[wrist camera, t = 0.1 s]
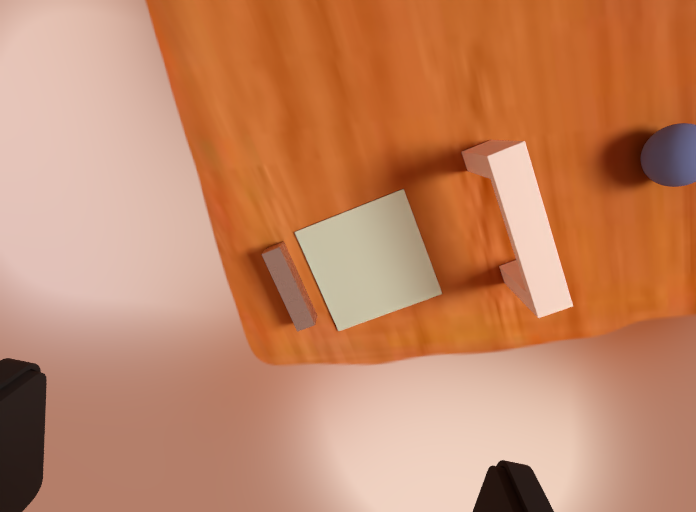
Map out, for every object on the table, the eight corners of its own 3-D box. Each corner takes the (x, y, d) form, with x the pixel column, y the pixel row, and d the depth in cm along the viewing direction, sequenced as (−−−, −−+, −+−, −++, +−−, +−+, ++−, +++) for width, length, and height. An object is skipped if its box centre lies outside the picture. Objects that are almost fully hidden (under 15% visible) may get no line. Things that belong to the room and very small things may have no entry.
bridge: (504, 282, 47) (538, 318, 38) (461, 151, 43) (487, 156, 34) (532, 273, 46) (573, 306, 37) (490, 139, 43) (524, 141, 34)
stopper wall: (266, 248, 47) (261, 254, 44) (283, 241, 46) (279, 247, 44) (300, 321, 49) (297, 331, 46) (317, 315, 48) (314, 324, 46)
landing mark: (294, 231, 46) (294, 232, 46) (403, 188, 44) (403, 189, 44) (338, 330, 49) (338, 331, 49) (442, 293, 47) (442, 293, 47)
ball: (622, 137, 43) (659, 138, 37) (681, 114, 42) (728, 111, 36) (634, 191, 44) (673, 199, 39) (692, 170, 43) (739, 175, 38)
